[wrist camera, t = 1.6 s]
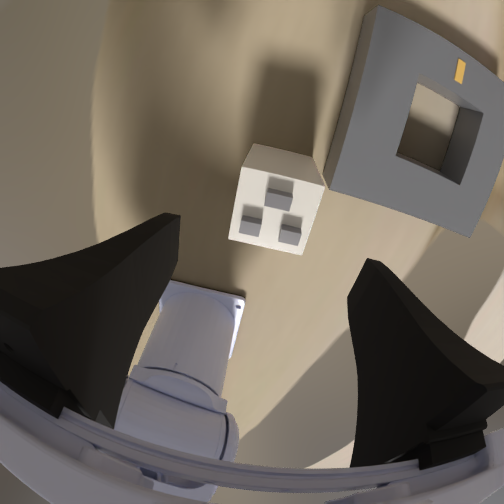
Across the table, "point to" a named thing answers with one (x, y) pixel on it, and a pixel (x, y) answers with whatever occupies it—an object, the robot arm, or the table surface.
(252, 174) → the plug
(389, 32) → the socket
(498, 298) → the table surface
